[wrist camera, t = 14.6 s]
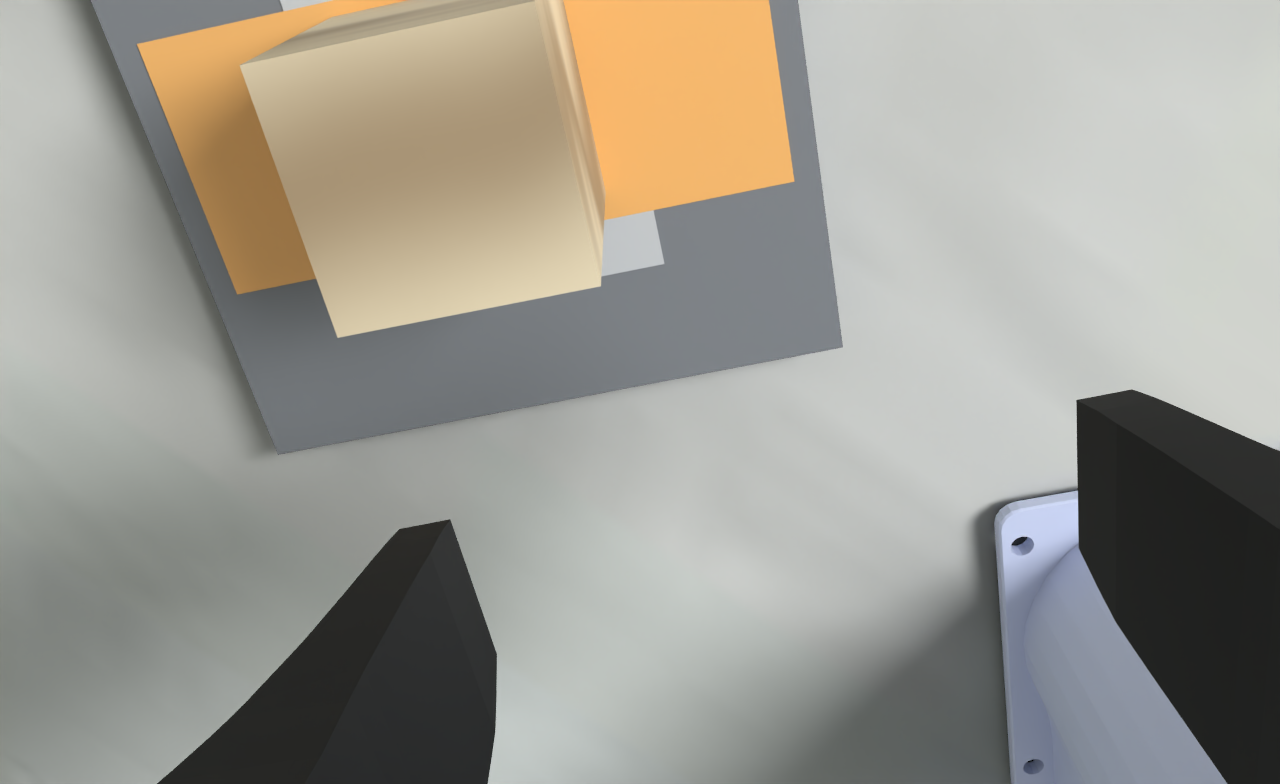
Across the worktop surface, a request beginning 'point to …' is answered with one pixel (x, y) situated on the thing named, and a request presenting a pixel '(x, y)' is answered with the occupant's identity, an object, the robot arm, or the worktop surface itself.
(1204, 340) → the worktop surface
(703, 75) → the breaker panel
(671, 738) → the worktop surface
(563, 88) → the block
